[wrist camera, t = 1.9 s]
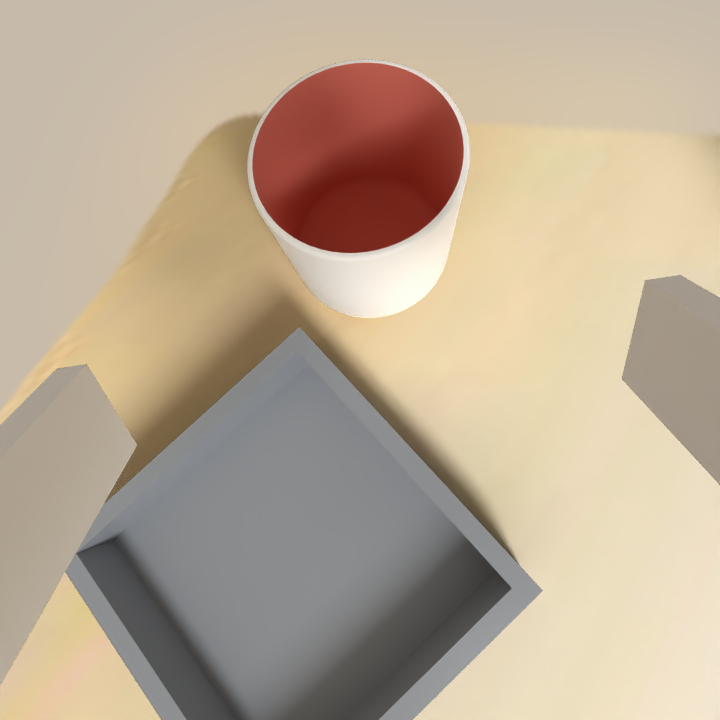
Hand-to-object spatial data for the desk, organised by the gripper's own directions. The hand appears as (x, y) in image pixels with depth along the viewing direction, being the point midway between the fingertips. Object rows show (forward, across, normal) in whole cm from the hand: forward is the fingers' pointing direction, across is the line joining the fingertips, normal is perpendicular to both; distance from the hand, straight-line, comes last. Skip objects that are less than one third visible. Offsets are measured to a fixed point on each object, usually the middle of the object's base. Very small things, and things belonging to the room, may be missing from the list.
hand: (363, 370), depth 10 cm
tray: (+6, -6, -17) cm, 19 cm away
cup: (+19, +1, -4) cm, 20 cm away
